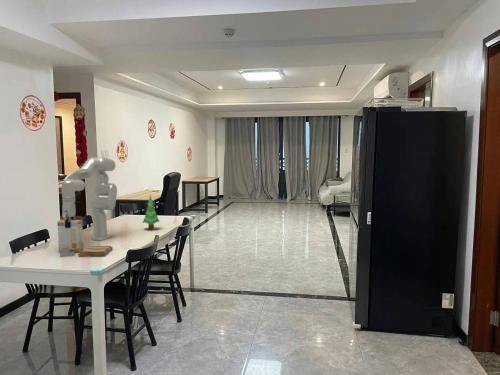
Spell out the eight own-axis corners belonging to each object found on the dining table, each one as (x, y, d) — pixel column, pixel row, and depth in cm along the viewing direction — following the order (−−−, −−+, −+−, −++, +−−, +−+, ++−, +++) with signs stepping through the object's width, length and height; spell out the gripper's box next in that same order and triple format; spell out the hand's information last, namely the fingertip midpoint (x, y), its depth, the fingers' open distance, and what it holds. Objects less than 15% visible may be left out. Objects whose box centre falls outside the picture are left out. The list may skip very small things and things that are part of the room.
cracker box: (84, 250, 238) (82, 219, 236) (78, 252, 232) (77, 221, 230) (64, 249, 239) (62, 219, 237) (58, 252, 233) (56, 220, 231)
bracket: (61, 255, 227) (60, 249, 227) (75, 254, 230) (74, 247, 229) (60, 257, 222) (59, 251, 222) (74, 256, 225) (74, 249, 225)
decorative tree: (158, 227, 312) (158, 193, 310) (160, 230, 298) (159, 195, 295) (142, 228, 308) (141, 193, 305) (143, 231, 293) (142, 195, 291)
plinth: (88, 250, 238) (87, 245, 238) (112, 249, 239) (112, 245, 239) (78, 257, 222) (78, 252, 222) (104, 256, 224) (104, 251, 223)
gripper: (68, 198, 241) (70, 224, 242) (56, 201, 223) (58, 229, 225) (80, 198, 241) (81, 224, 243) (69, 201, 224) (70, 229, 226)
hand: (70, 226), depth 234 cm, fingers closed on cracker box, 6 cm apart
